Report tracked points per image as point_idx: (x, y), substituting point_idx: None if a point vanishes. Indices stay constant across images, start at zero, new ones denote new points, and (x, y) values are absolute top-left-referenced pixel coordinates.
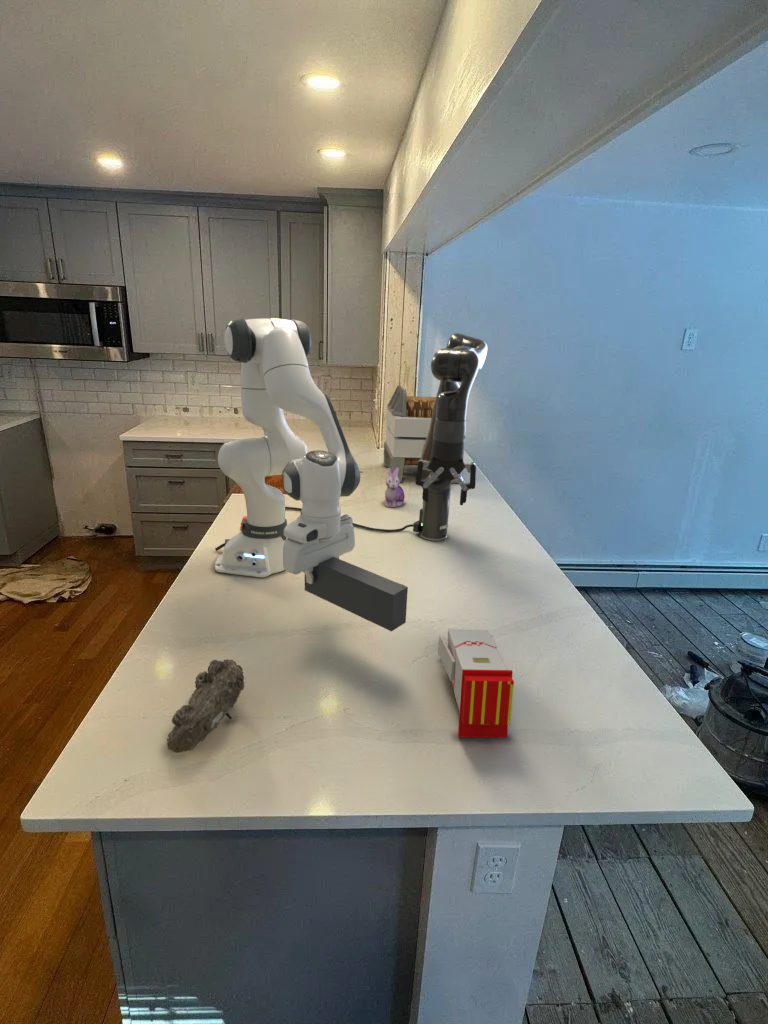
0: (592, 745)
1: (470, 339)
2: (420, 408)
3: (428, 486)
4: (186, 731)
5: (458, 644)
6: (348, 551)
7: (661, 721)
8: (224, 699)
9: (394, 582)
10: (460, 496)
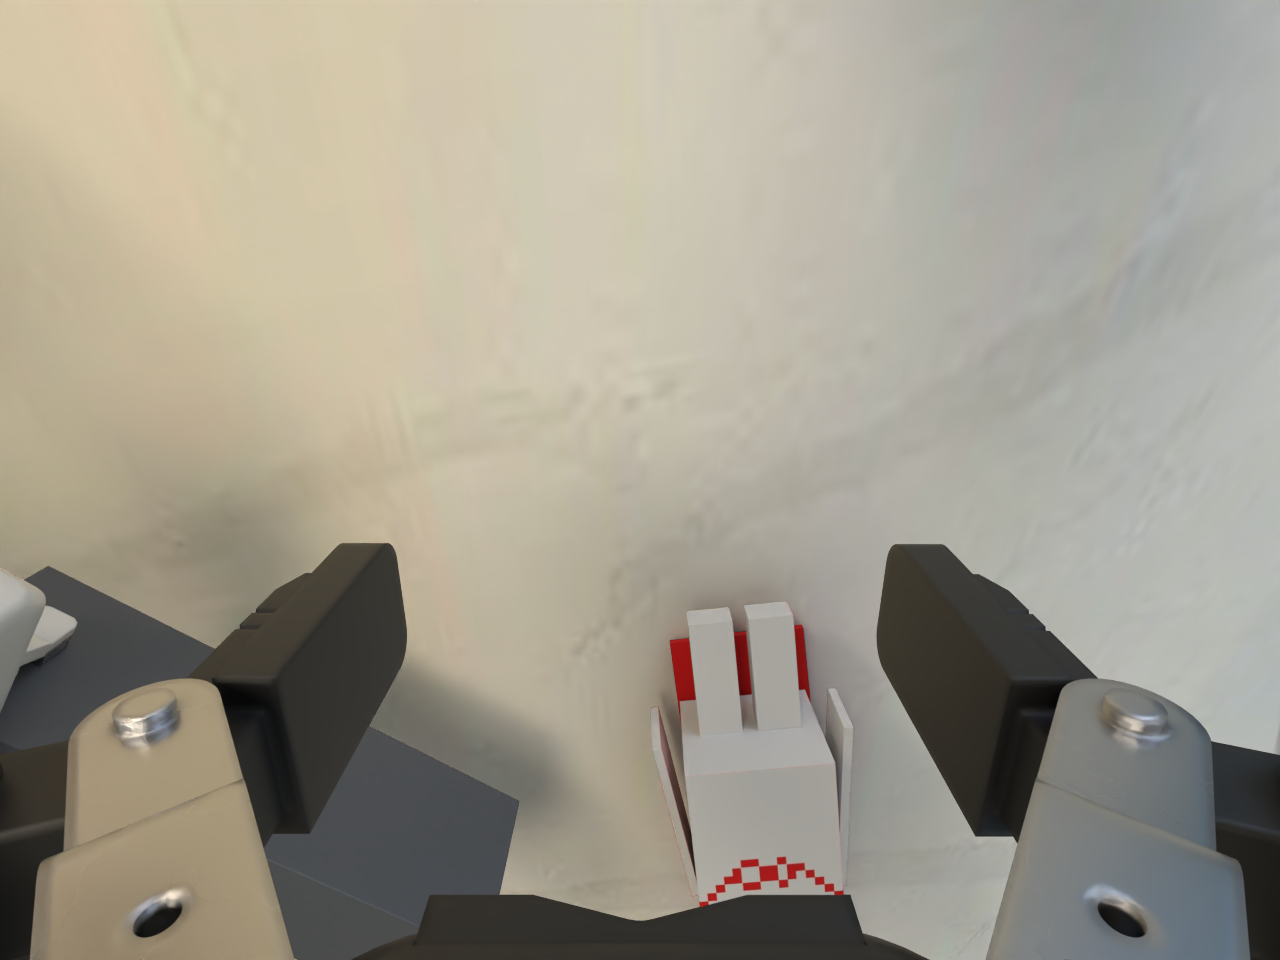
0: (1006, 877)
1: None
2: None
3: (271, 698)
4: None
5: (714, 888)
6: (31, 636)
7: None
8: None
9: (415, 930)
10: (931, 623)
